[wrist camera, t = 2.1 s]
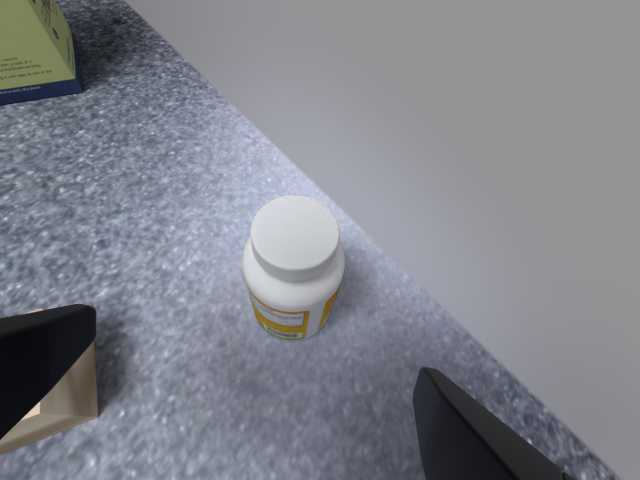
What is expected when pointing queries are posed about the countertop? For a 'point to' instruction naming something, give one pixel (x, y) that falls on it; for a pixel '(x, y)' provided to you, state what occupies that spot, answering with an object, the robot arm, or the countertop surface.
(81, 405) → the maple block
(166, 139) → the countertop surface
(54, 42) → the protein box
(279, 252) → the supplement bottle
